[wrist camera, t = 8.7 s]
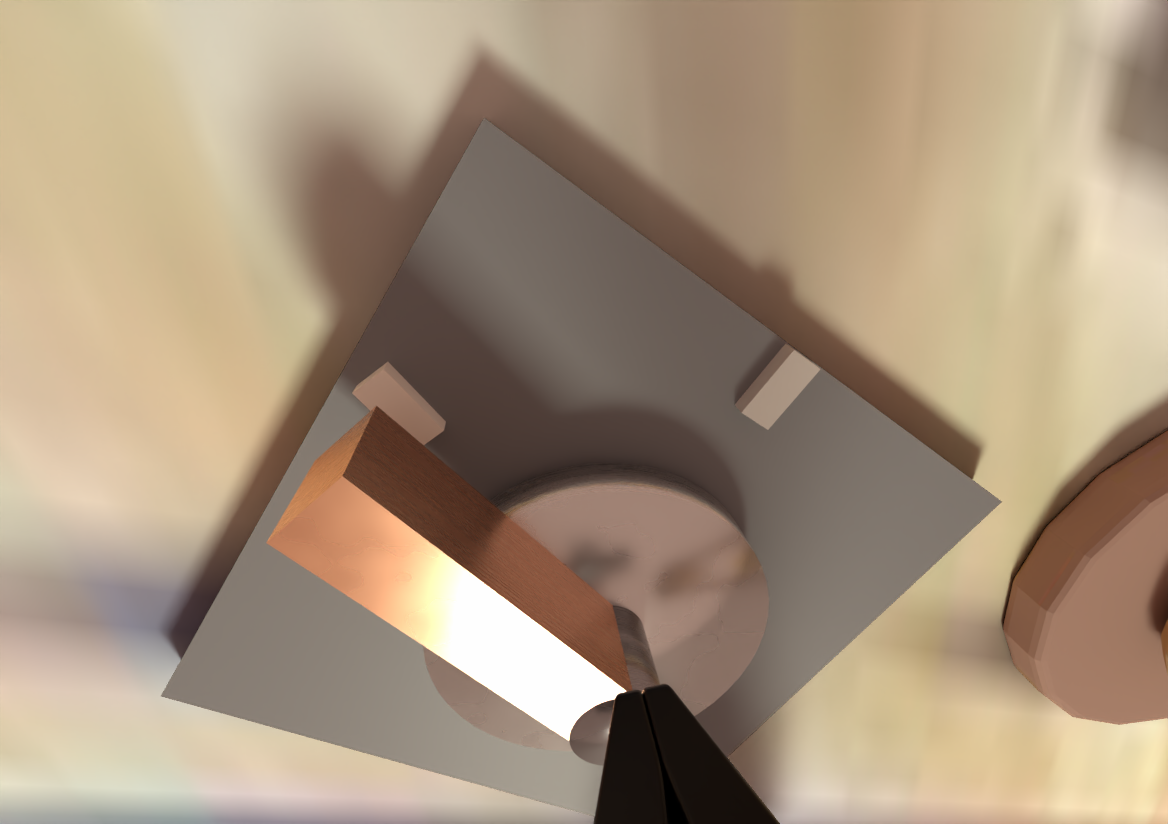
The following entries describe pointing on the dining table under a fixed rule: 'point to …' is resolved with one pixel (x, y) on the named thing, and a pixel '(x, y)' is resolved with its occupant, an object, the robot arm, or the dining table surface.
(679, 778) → the robot arm
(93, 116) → the dining table surface
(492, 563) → the dial
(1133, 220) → the dining table surface
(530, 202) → the panel
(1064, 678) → the wooden pedestal stand
